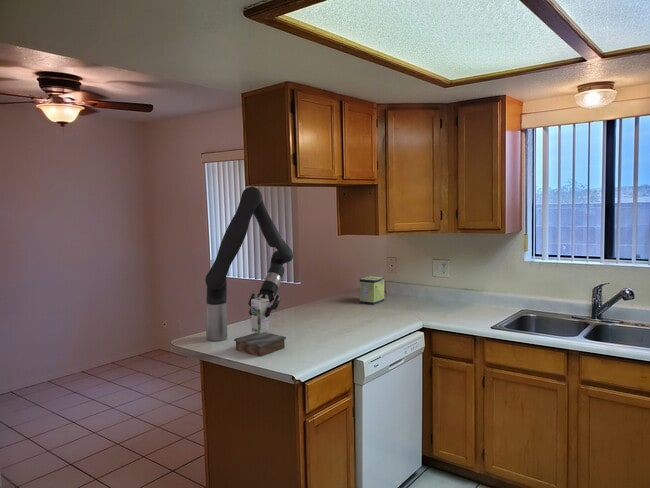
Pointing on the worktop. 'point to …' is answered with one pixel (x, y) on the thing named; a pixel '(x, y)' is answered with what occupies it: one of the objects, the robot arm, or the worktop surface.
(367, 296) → the protein box
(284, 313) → the worktop surface
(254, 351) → the podium
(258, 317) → the syrup box
